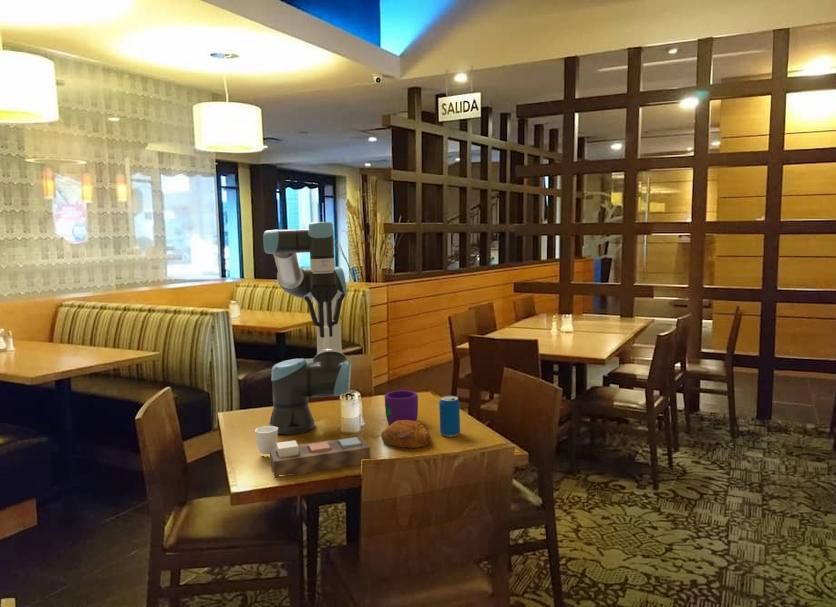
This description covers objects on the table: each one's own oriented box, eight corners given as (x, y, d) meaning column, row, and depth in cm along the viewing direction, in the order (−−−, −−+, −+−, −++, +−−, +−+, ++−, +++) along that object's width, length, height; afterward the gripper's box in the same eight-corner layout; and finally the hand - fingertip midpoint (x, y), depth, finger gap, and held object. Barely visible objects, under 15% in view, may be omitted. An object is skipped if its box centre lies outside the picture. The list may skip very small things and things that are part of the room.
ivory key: (279, 464, 176) (278, 448, 176) (277, 457, 182) (276, 442, 181) (299, 461, 178) (298, 446, 178) (296, 455, 183) (295, 440, 183)
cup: (258, 460, 187) (256, 434, 186) (252, 450, 196) (251, 425, 195) (282, 456, 189) (280, 430, 189) (275, 446, 199) (274, 421, 198)
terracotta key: (312, 465, 180) (311, 450, 179) (309, 458, 185) (308, 444, 184) (331, 462, 181) (330, 447, 181) (327, 456, 186) (326, 441, 186)
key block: (274, 477, 174) (273, 461, 173) (270, 463, 184) (269, 448, 183) (370, 462, 182) (369, 447, 182) (361, 450, 193) (360, 436, 192)
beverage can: (458, 437, 201) (457, 401, 200) (438, 437, 203) (437, 400, 201) (461, 431, 208) (460, 395, 206) (441, 430, 209) (440, 395, 208)
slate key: (343, 460, 182) (342, 445, 182) (339, 454, 188) (338, 440, 187) (361, 457, 184) (361, 443, 184) (357, 451, 189) (356, 437, 189)
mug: (424, 424, 217) (423, 395, 216) (393, 429, 212) (392, 400, 211) (403, 411, 233) (402, 385, 231) (374, 416, 228) (373, 389, 227)
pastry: (416, 459, 190) (418, 434, 188) (373, 445, 198) (375, 421, 196) (439, 443, 202) (441, 420, 201) (398, 430, 210) (400, 407, 208)
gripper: (303, 274, 190) (307, 351, 193) (346, 271, 195) (349, 347, 197) (300, 272, 198) (304, 347, 200) (341, 270, 202) (344, 343, 205)
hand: (326, 347), depth 199 cm, fingers closed
